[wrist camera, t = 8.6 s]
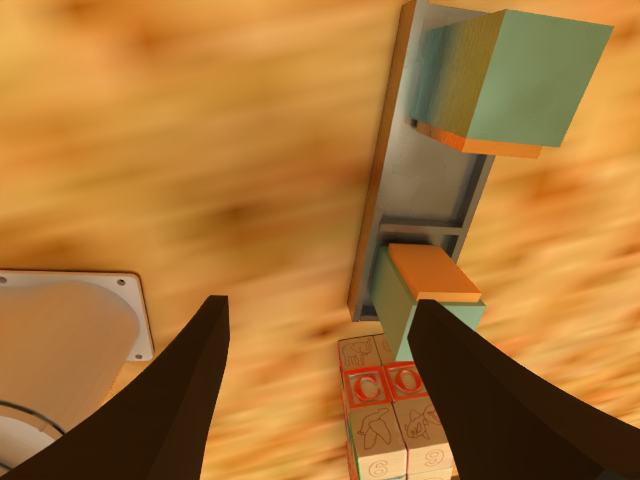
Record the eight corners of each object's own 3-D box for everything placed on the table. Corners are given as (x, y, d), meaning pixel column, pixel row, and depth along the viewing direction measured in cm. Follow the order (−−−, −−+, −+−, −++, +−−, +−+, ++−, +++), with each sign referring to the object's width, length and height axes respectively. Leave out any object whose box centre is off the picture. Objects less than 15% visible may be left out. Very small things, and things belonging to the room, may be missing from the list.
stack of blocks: (334, 338, 26) (369, 523, 16) (407, 327, 27) (491, 502, 16) (348, 468, 37) (375, 633, 26) (400, 460, 37) (448, 619, 26)
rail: (347, 303, 24) (369, 384, 18) (402, 5, 16) (482, -38, 9) (424, 304, 25) (470, 382, 19) (518, 23, 17) (662, -5, 10)
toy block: (369, 293, 23) (395, 361, 17) (381, 238, 21) (415, 295, 15) (421, 294, 23) (461, 360, 18) (438, 240, 21) (490, 296, 16)
